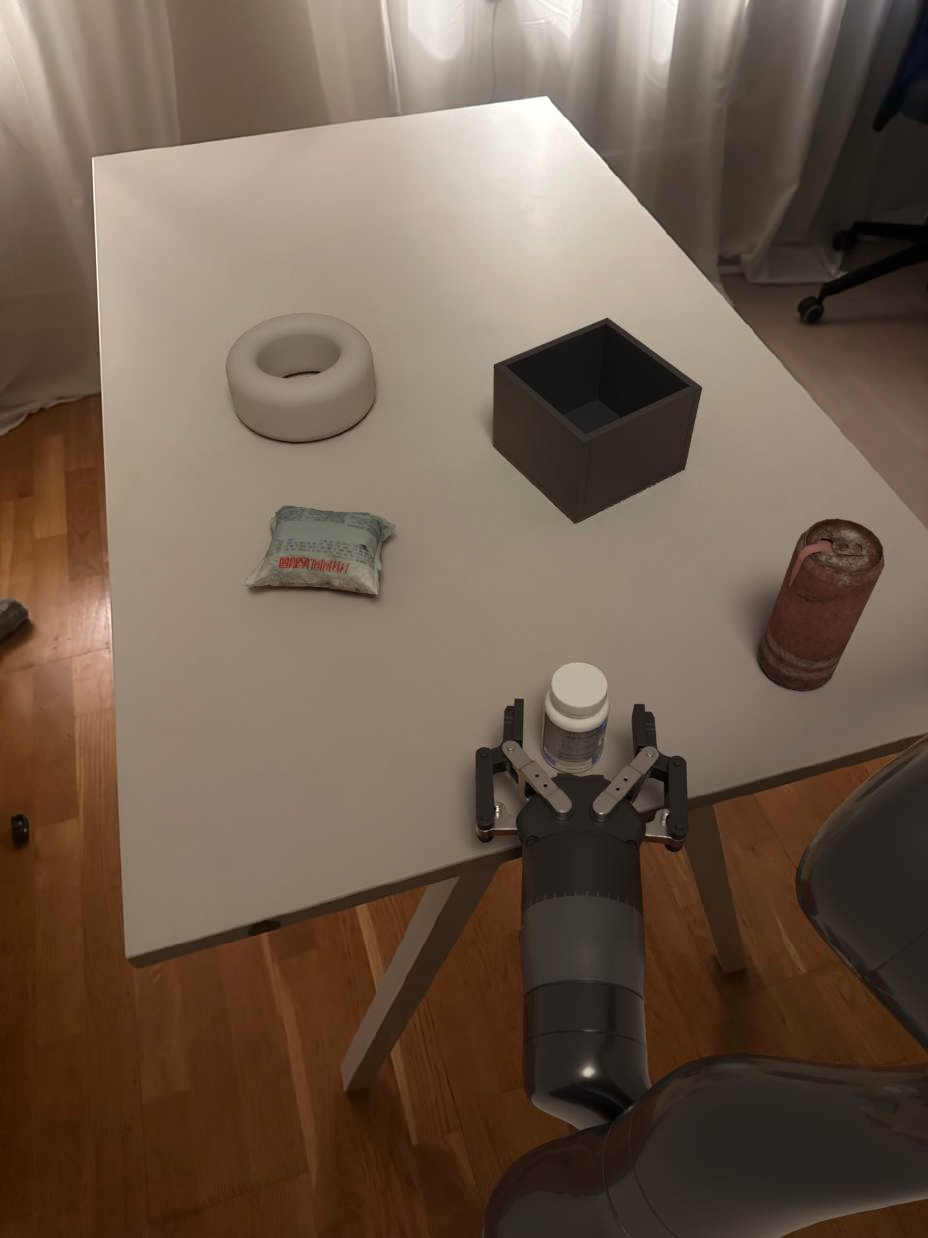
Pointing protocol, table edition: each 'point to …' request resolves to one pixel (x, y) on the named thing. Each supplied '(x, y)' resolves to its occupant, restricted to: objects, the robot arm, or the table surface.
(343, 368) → the donut shape
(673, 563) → the table surface
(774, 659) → the can
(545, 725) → the pill bottle
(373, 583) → the packaged food
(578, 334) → the trash bin
